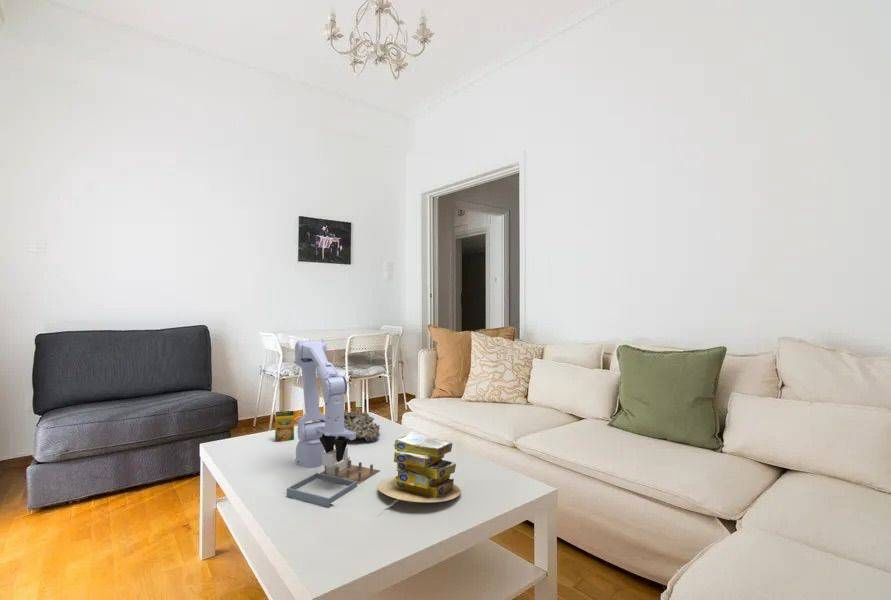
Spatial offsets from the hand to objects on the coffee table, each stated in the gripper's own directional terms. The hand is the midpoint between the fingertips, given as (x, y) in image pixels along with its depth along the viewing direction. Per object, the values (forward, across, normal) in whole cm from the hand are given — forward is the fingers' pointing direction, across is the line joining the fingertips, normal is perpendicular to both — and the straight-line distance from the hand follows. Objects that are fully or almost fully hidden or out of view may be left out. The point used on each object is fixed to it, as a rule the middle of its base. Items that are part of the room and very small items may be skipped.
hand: (335, 459), depth 139 cm
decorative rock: (+9, -26, +45) cm, 53 cm away
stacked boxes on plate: (+9, +26, +8) cm, 28 cm away
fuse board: (+9, -2, +10) cm, 13 cm away
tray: (+9, -1, -4) cm, 10 cm away
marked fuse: (+1, 0, 0) cm, 1 cm away
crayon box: (+9, -49, +28) cm, 57 cm away
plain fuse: (+8, -7, +10) cm, 14 cm away
